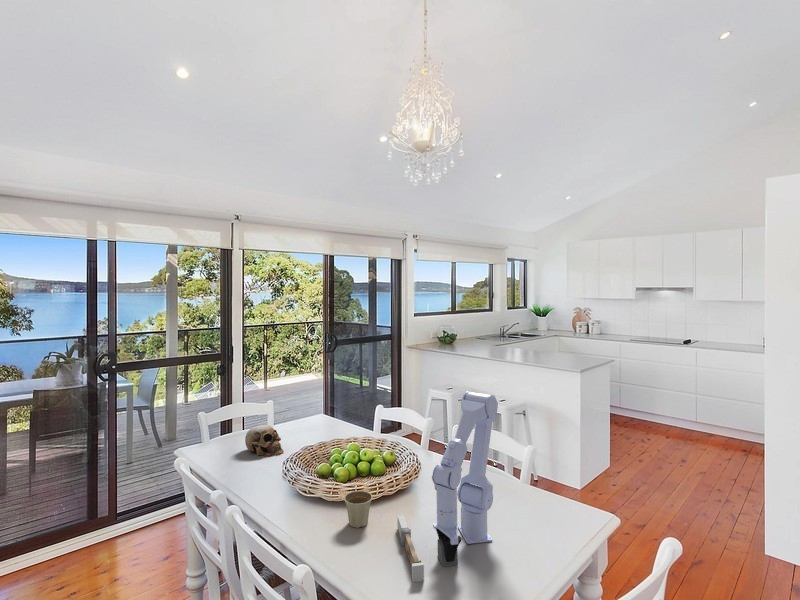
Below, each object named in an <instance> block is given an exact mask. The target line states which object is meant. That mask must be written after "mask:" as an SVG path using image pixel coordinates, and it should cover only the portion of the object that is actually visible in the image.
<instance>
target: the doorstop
mask: <svg viewBox="0 0 800 600" xmlns="http://www.w3.org/2000/svg"><path fill="white" fill-rule="evenodd" d="M437 558H438V561H439V562H440V565H441V567H449V566H456V565H458V564H459V562H458V550H457V551H456V555H455V559H454V561H453V562H447V561H446V558H445V552H444V546H443V543H442V541H441V539H439V538H438V539H437Z"/></svg>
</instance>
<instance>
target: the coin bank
mask: <svg viewBox="0 0 800 600" xmlns="http://www.w3.org/2000/svg"><path fill="white" fill-rule="evenodd" d="M244 440H245V441H244V442H245V443H244V444H245V446H246V448H247V449H248V450H249V451H250V452H252V453H254V452H256V455H257V456H258V455H260V456H262V457H273V456H272V455H276V456H281V455H282V454H284V452H285V451H284V449H283V448H282V445H281V442H280V441H281V440H282V437H280V436H279V434H278V432H277V430H276V429H274V428H273V427H272V426H271V425H269V424H268V425H267V424H263V425H262V424H261V425H256V426H253V427H251V428H250V429H249V430H248V431H247V432H246V434H245V439H244ZM280 454H281V455H280Z"/></svg>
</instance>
